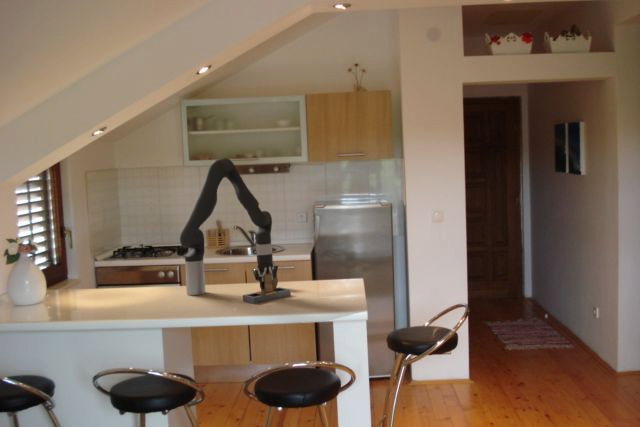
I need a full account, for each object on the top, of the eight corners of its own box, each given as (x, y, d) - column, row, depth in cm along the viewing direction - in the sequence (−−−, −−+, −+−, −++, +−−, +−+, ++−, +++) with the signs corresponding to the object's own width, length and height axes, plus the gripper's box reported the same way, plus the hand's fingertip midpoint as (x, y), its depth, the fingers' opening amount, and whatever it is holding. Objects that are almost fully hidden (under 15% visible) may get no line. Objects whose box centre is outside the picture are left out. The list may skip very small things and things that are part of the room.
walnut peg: (261, 293, 340) (259, 273, 339) (267, 292, 342) (266, 272, 341) (266, 294, 337) (264, 274, 336) (272, 293, 339) (271, 273, 338)
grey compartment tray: (242, 301, 336) (242, 294, 336) (279, 293, 350) (279, 286, 350) (253, 304, 329) (253, 297, 329) (290, 295, 344) (290, 289, 343)
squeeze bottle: (281, 288, 362) (279, 253, 360) (272, 291, 356) (270, 256, 354) (268, 287, 367) (267, 252, 365) (259, 290, 360) (257, 255, 358)
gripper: (271, 250, 345) (273, 284, 347) (247, 254, 336) (249, 289, 338) (280, 251, 339) (283, 286, 341) (256, 255, 330) (259, 291, 332)
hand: (266, 287), depth 339 cm, fingers closed on walnut peg, 4 cm apart
